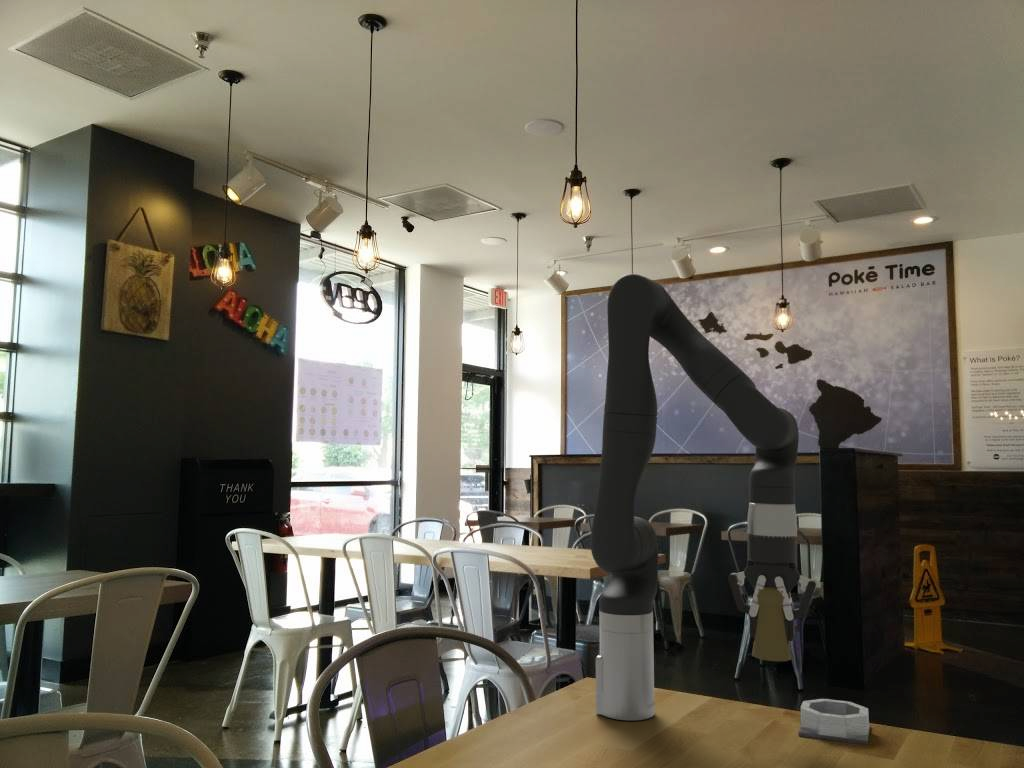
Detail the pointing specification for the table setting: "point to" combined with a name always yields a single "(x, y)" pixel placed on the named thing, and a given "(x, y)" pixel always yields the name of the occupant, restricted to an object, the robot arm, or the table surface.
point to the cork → (771, 627)
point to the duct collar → (835, 721)
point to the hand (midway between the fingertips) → (772, 641)
